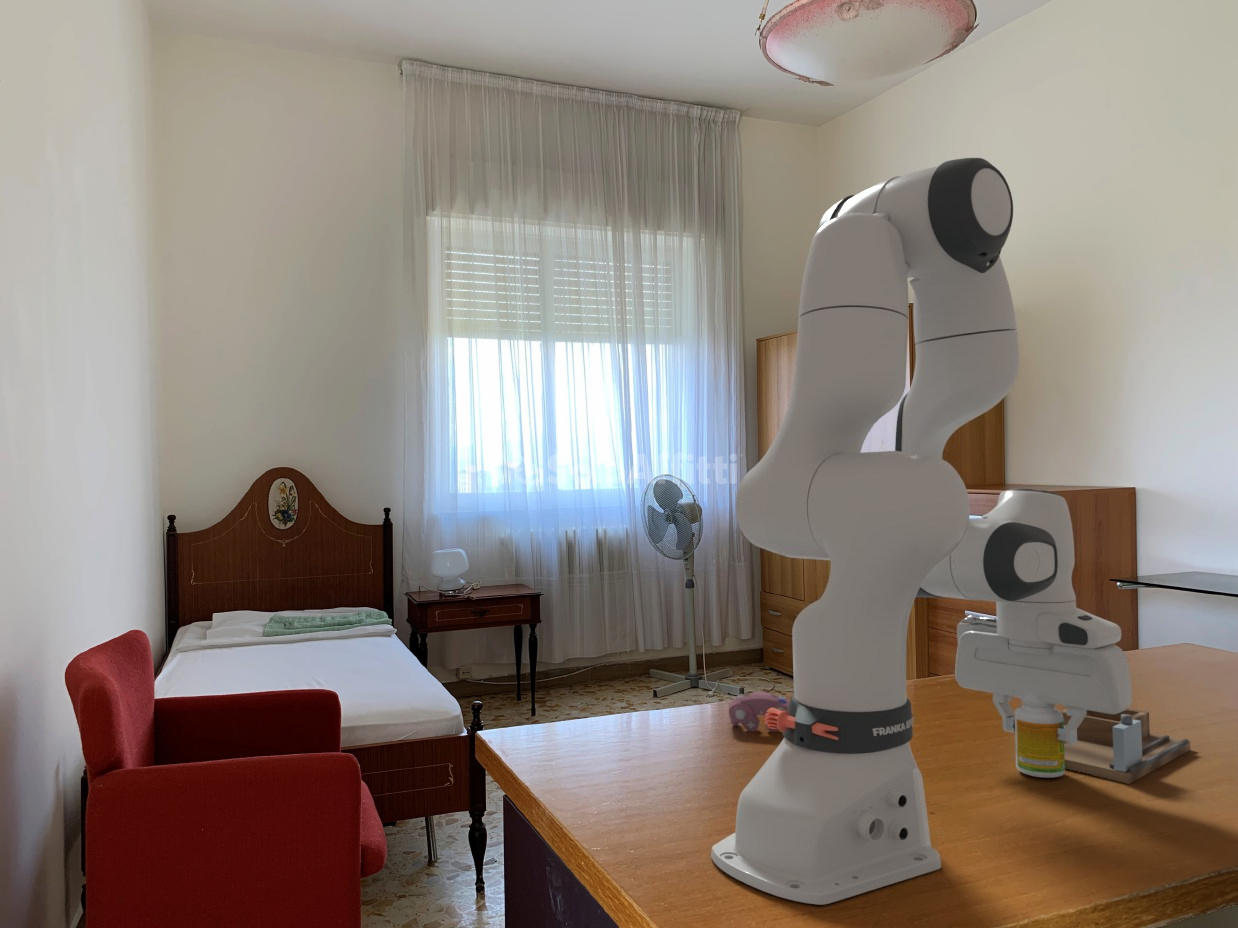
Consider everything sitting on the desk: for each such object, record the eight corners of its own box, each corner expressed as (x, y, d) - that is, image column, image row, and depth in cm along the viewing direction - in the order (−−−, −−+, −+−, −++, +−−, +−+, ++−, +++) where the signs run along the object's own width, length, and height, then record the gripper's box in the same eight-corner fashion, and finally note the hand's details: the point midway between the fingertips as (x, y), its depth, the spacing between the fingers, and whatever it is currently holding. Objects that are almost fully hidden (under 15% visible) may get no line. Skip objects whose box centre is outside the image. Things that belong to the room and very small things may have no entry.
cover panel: (1124, 771, 103) (1122, 720, 103) (1114, 769, 104) (1112, 718, 104) (1142, 762, 106) (1140, 712, 106) (1131, 760, 107) (1129, 710, 107)
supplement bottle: (1071, 779, 104) (1068, 696, 104) (1022, 777, 105) (1019, 695, 105) (1058, 765, 109) (1055, 686, 109) (1011, 763, 110) (1009, 685, 110)
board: (1131, 784, 102) (1130, 748, 103) (1019, 758, 113) (1018, 725, 113) (1193, 750, 114) (1191, 717, 114) (1086, 729, 125) (1085, 699, 125)
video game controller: (729, 740, 129) (725, 703, 126) (731, 719, 133) (728, 682, 130) (797, 743, 127) (795, 705, 124) (798, 721, 131) (796, 684, 128)
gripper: (943, 616, 114) (946, 724, 113) (1112, 635, 98) (1115, 761, 97) (970, 611, 117) (972, 715, 117) (1135, 628, 101) (1139, 750, 101)
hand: (1039, 736), depth 107 cm, fingers closed on supplement bottle, 5 cm apart
